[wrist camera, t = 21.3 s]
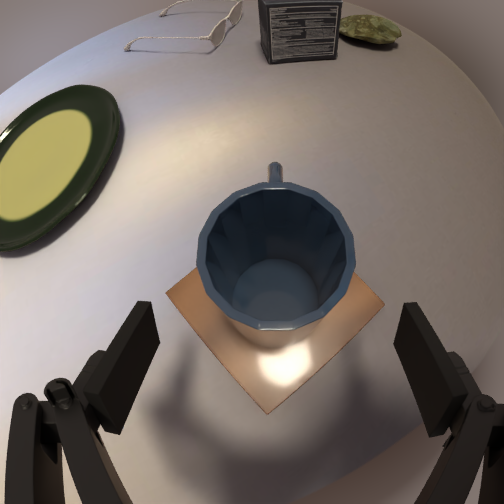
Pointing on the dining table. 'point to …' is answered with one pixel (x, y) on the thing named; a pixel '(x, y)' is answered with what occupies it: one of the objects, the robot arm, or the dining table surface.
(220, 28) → the eyeglasses
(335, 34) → the small box
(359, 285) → the cork mat
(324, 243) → the mug
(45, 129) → the plate
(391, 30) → the seashell
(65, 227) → the dining table surface
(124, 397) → the robot arm
